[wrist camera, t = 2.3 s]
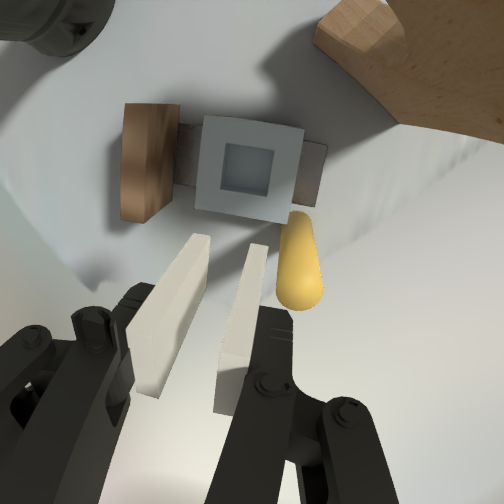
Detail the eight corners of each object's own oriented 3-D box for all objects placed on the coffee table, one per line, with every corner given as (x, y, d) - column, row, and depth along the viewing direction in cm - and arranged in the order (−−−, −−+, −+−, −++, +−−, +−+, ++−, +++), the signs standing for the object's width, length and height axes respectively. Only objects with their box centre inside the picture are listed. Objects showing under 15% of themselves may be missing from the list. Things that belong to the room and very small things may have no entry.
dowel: (284, 208, 39) (280, 266, 25) (314, 214, 39) (328, 275, 25) (278, 236, 41) (272, 306, 27) (308, 242, 41) (316, 314, 27)
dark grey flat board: (179, 123, 36) (178, 123, 36) (327, 145, 35) (327, 145, 35) (174, 183, 40) (173, 183, 39) (314, 206, 39) (314, 206, 39)
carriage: (212, 115, 35) (204, 115, 31) (303, 128, 34) (304, 130, 31) (203, 199, 40) (194, 208, 36) (287, 213, 39) (287, 224, 36)
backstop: (158, 103, 35) (125, 103, 27) (180, 104, 35) (150, 103, 27) (151, 197, 41) (120, 219, 33) (171, 200, 41) (143, 223, 33)
